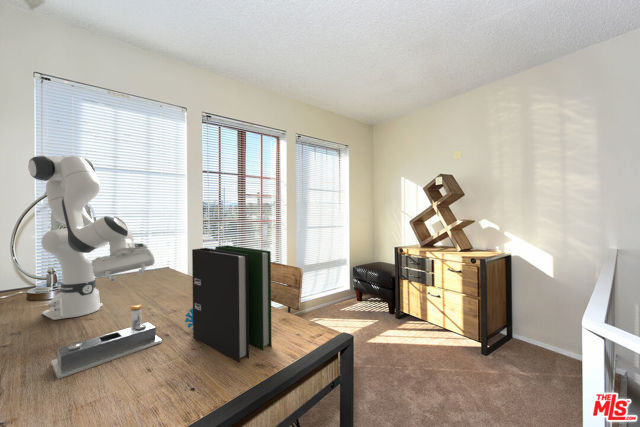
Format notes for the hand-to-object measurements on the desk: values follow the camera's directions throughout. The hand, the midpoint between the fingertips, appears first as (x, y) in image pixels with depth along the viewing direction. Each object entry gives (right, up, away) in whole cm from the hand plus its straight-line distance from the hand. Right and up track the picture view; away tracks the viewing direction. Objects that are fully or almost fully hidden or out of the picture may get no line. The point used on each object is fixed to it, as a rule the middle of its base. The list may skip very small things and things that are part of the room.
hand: (127, 277), depth 105 cm
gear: (+29, -20, 0) cm, 35 cm away
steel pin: (+6, -20, -4) cm, 21 cm away
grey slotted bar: (+8, -20, -18) cm, 28 cm away
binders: (+45, -20, -12) cm, 50 cm away
